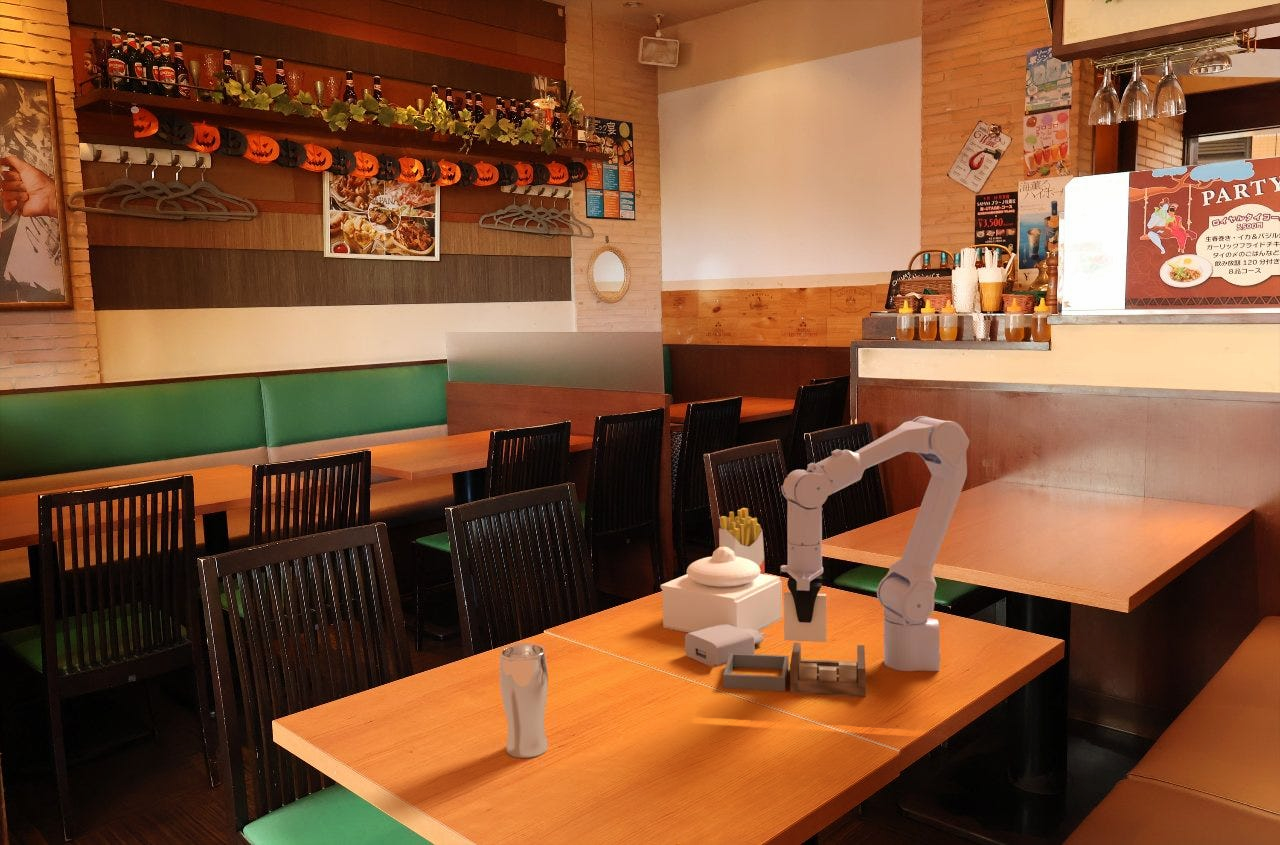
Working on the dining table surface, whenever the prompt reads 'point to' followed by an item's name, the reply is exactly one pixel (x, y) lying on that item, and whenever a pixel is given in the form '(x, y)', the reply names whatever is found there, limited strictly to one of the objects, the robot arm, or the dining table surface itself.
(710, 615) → the white lidded square jar
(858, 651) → the rack
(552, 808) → the dining table surface
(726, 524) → the french fries container
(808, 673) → the offcuts
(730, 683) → the tray
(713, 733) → the dining table surface
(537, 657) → the beer glass
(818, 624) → the sheet
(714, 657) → the charger
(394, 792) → the dining table surface
